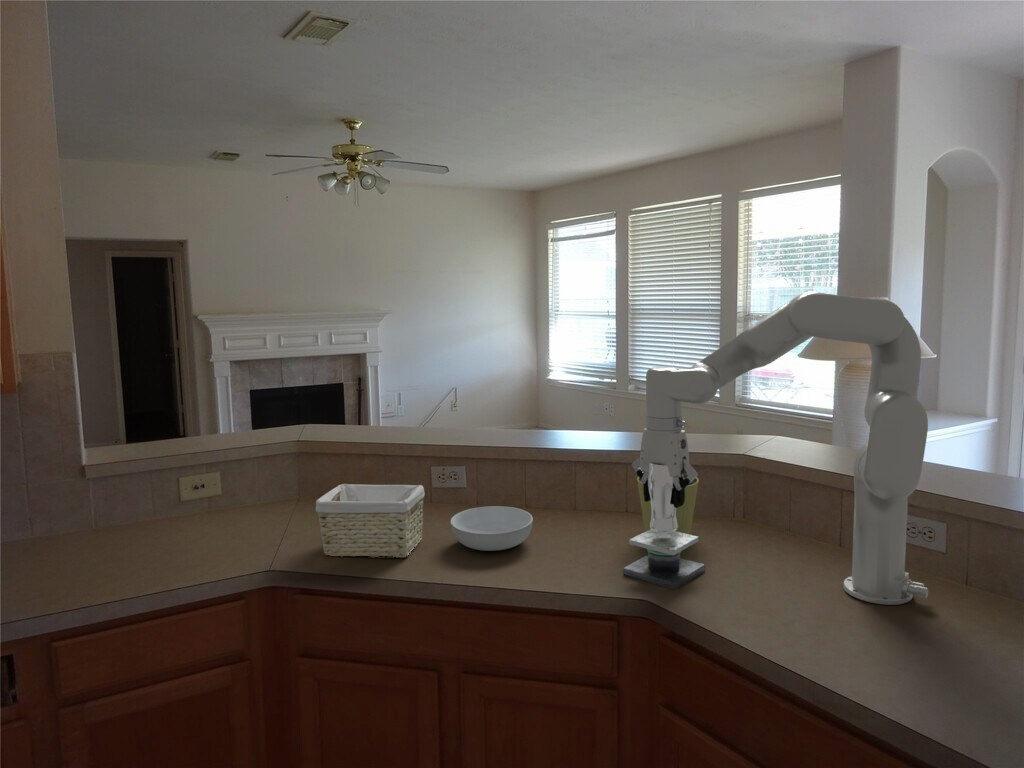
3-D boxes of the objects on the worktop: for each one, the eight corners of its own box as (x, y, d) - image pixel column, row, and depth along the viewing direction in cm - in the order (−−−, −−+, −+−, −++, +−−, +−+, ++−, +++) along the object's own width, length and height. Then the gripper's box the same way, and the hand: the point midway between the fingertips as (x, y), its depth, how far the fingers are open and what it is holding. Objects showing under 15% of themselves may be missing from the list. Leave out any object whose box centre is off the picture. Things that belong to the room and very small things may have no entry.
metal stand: (704, 570, 159) (704, 536, 158) (674, 589, 149) (674, 553, 148) (654, 557, 168) (654, 524, 166) (623, 574, 158) (622, 540, 157)
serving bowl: (440, 557, 172) (438, 530, 171) (465, 528, 192) (464, 504, 191) (523, 562, 167) (522, 534, 166) (540, 532, 187) (540, 507, 186)
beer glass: (680, 533, 153) (680, 465, 151) (647, 532, 154) (647, 465, 152) (679, 523, 160) (679, 458, 158) (647, 521, 161) (647, 457, 159)
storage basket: (316, 558, 174) (312, 500, 172) (342, 535, 190) (339, 482, 188) (409, 562, 170) (406, 502, 168) (428, 538, 186) (426, 483, 184)
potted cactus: (701, 546, 174) (702, 426, 170) (638, 544, 176) (637, 426, 172) (695, 525, 189) (696, 414, 185) (637, 524, 191) (636, 415, 187)
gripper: (708, 425, 151) (708, 506, 153) (639, 417, 163) (639, 492, 165) (691, 431, 145) (690, 515, 148) (620, 422, 157) (621, 500, 159)
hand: (663, 502), depth 156 cm, fingers closed on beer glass, 6 cm apart
